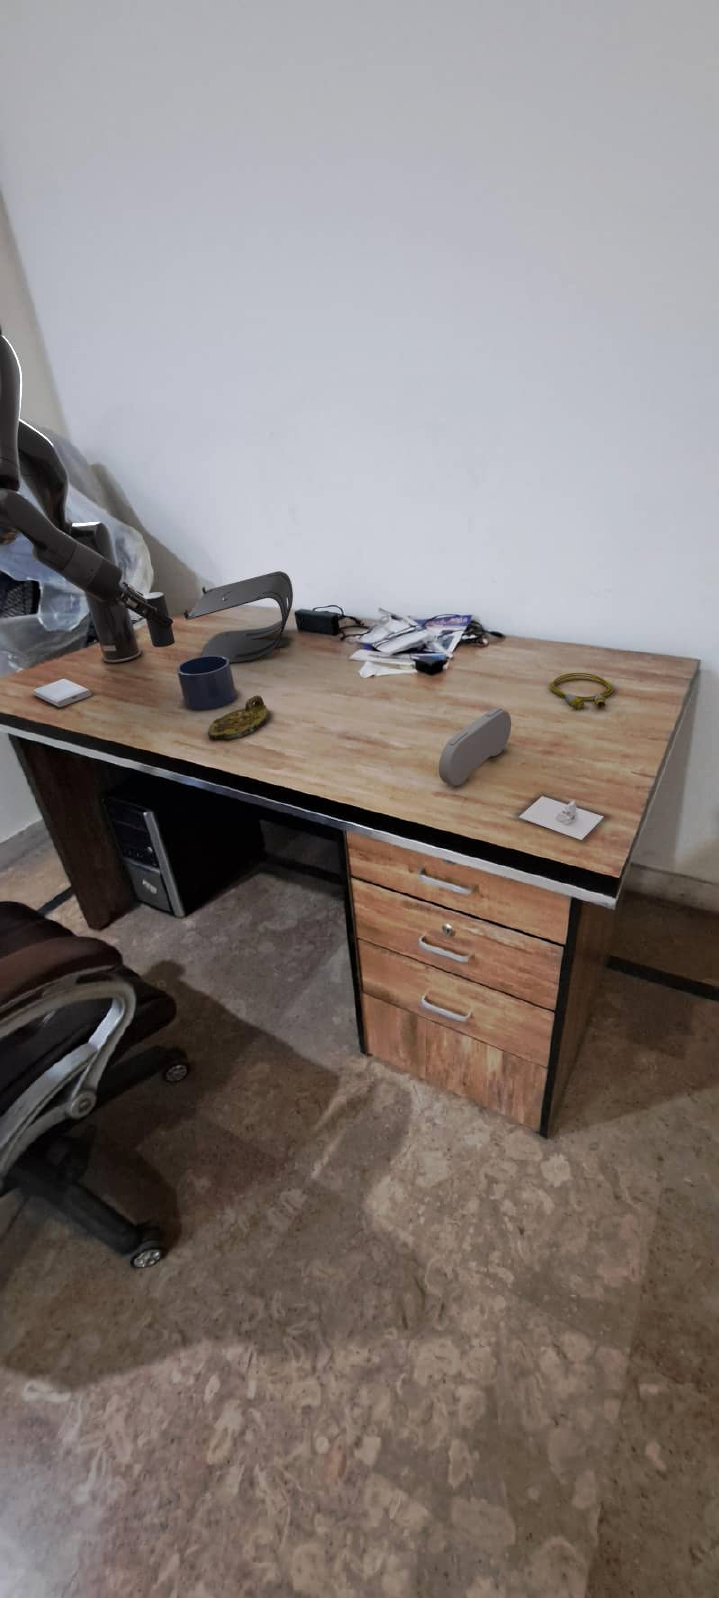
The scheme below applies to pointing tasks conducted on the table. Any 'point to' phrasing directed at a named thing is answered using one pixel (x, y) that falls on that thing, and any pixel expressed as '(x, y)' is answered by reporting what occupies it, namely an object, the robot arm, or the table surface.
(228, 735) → the bronze pendant
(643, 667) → the table surface
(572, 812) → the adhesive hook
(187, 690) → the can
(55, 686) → the hard drive
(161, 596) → the canister
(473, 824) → the table surface
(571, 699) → the extension cord
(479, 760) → the game controller
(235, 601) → the laptop stand
